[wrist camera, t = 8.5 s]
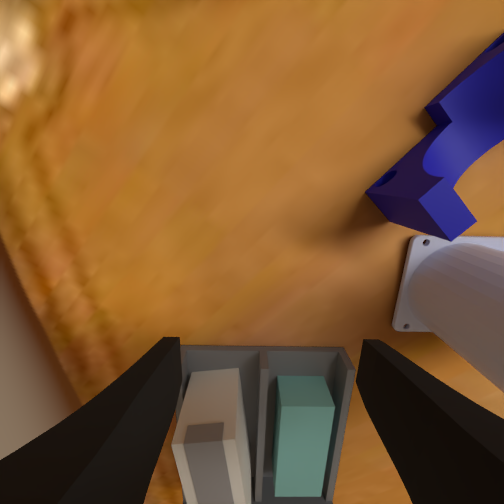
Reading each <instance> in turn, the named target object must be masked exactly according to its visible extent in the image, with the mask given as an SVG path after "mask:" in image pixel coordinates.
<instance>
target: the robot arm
mask: <svg viewBox="0 0 504 504" xmlns="http://www.w3.org/2000/svg"><path fill="white" fill-rule="evenodd" d="M424 240H426V243H425V244H424V245H423V241H424ZM405 324H407V325H406V326H404V325H405ZM403 326H404V327H403ZM392 327H393V328H394V329H395V330H396V331H400V332H433V333H434V334H436V335H437V336H438V337H439V338H440V339H441V340H443V341H444V342H445V343H446V344H447V345H448V346H450V347H451V348H452V349H453V350H454V351H456V352H457V353H458V354H459V355H460V356H461V357H463V358H464V359H465V360H466V361H467V362H468V363H470V364H471V365H472V366H473V367H474V368H475V369H477V370H478V371H479V372H480V373H481V374H482V375H484V376H485V377H486V378H487V379H488V380H490V381H491V382H492V383H493V384H494V385H495V386H497V387H498V388H499V389H500V390H501V391H502V392H504V237H493V236H458V237H457V238H455V239H454V240H453V241H452V242H450V241H447V240H444V239H441V238H438V237H435V236H432V235H415V236H413V237H412V238H411V240H410V243H409V248H408V252H407V257H406V261H405V266H404V271H403V275H402V280H401V285H400V289H399V294H398V298H397V303H396V308H395V312H394V317H393V322H392ZM356 383H357V386H358V389H359V392H360V395H361V397H362V400H363V403H364V405H365V408H366V410H367V412H368V414H369V416H370V418H371V420H372V422H373V424H374V426H375V428H376V430H377V432H378V434H379V436H380V438H381V440H382V442H383V444H384V446H385V448H386V450H387V452H388V454H389V456H390V457H391V459H392V461H393V463H394V465H395V467H396V469H397V471H398V473H399V475H400V477H401V479H402V481H403V483H404V486H405V488H406V490H407V492H408V494H409V496H410V499H411V501H412V503H413V504H504V419H503V418H501V417H499V416H497V415H495V414H494V413H492V412H490V411H488V410H487V409H485V408H483V407H482V406H480V405H478V404H476V403H475V402H473V401H472V400H470V399H468V398H467V397H465V396H463V395H462V394H460V393H459V392H457V391H455V390H454V389H452V388H451V387H449V386H448V385H446V384H445V383H443V382H441V381H440V380H438V379H437V378H435V377H434V376H432V375H431V374H429V373H428V372H426V371H425V370H424V369H422V368H421V367H419V366H418V365H416V364H415V363H413V362H412V361H410V360H409V359H408V358H406V357H405V356H403V355H402V354H400V353H399V352H397V351H396V350H394V349H393V348H391V347H390V346H388V345H387V344H385V343H384V342H382V341H380V340H372V339H363V345H362V350H361V356H360V361H359V367H358V372H357V378H356ZM181 384H182V365H181V351H180V337H163V338H162V339H161V340H160V341H159V342H158V343H156V344H155V345H154V346H153V347H152V348H151V349H150V350H149V351H148V352H147V353H146V354H145V355H143V356H142V357H141V358H140V359H139V360H138V361H137V362H136V363H135V364H134V365H132V366H131V367H130V368H129V369H128V370H127V371H126V372H125V373H123V374H122V375H121V376H120V377H119V378H118V379H116V380H115V381H114V382H113V383H111V384H110V385H109V386H108V387H107V388H105V389H104V390H103V391H102V392H100V393H99V394H98V395H97V396H95V397H94V398H93V399H92V400H90V401H89V402H88V403H86V404H85V405H84V406H82V407H81V408H80V409H78V410H77V411H75V412H74V413H72V414H71V415H70V416H68V417H67V418H65V419H64V420H63V421H61V422H60V423H58V424H57V425H55V426H54V427H52V428H51V429H49V430H48V431H46V432H44V433H43V434H41V435H40V436H38V437H37V438H35V439H34V440H32V441H30V442H29V443H27V444H26V445H24V446H23V447H21V448H19V449H18V450H16V451H15V452H13V453H11V454H10V455H8V456H7V457H5V458H3V459H1V460H0V504H143V503H144V500H145V496H146V493H147V490H148V486H149V483H150V480H151V477H152V474H153V471H154V469H155V466H156V463H157V460H158V457H159V455H160V452H161V449H162V446H163V443H164V440H165V438H166V435H167V432H168V429H169V426H170V423H171V421H172V418H173V415H174V412H175V409H176V406H177V401H178V397H179V393H180V389H181Z"/></svg>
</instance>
